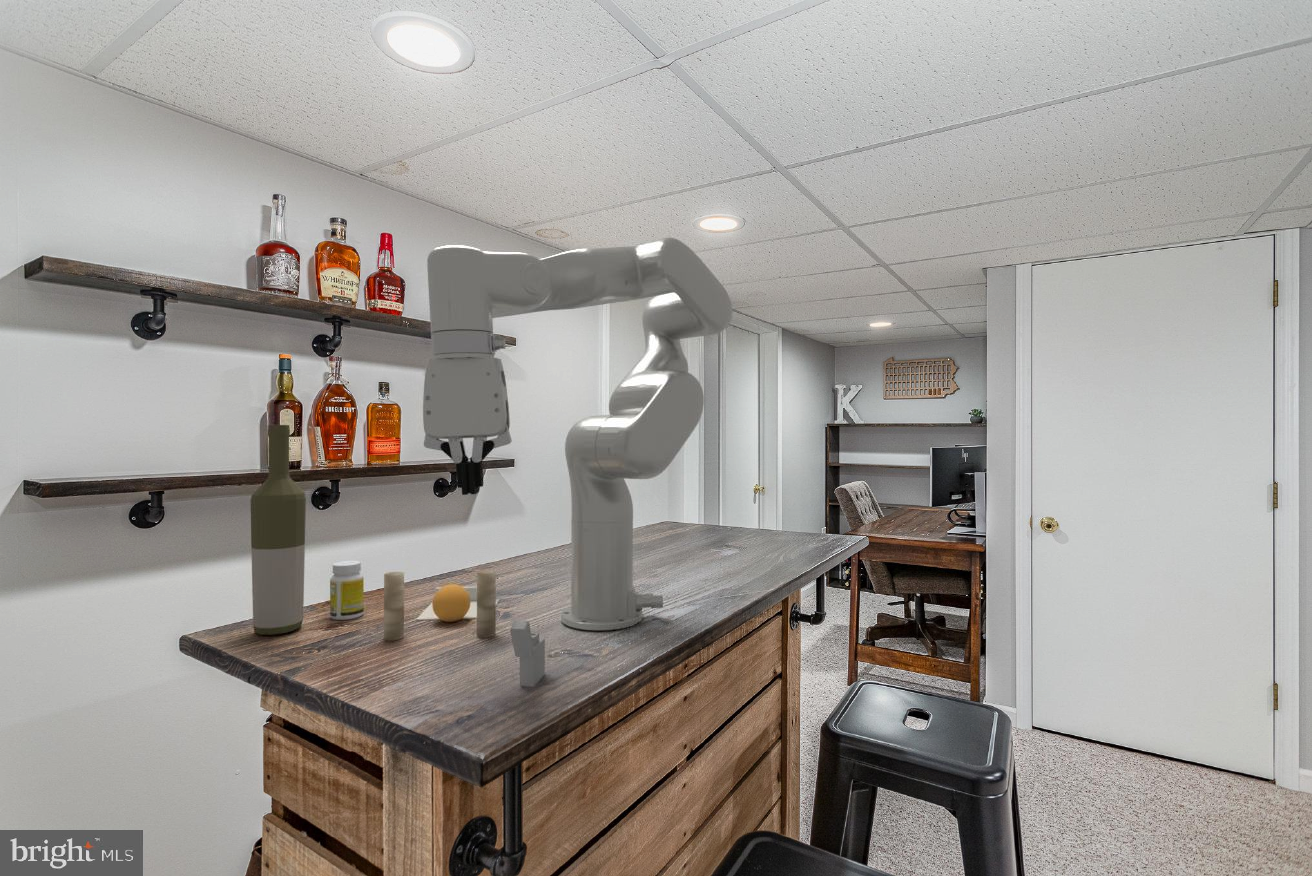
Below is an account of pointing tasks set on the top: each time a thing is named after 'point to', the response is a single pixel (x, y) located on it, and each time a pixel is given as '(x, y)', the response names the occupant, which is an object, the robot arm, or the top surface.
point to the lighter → (528, 653)
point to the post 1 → (393, 606)
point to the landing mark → (430, 615)
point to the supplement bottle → (346, 591)
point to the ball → (451, 603)
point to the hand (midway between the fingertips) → (470, 492)
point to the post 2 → (486, 603)
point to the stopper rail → (470, 589)
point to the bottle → (278, 543)
